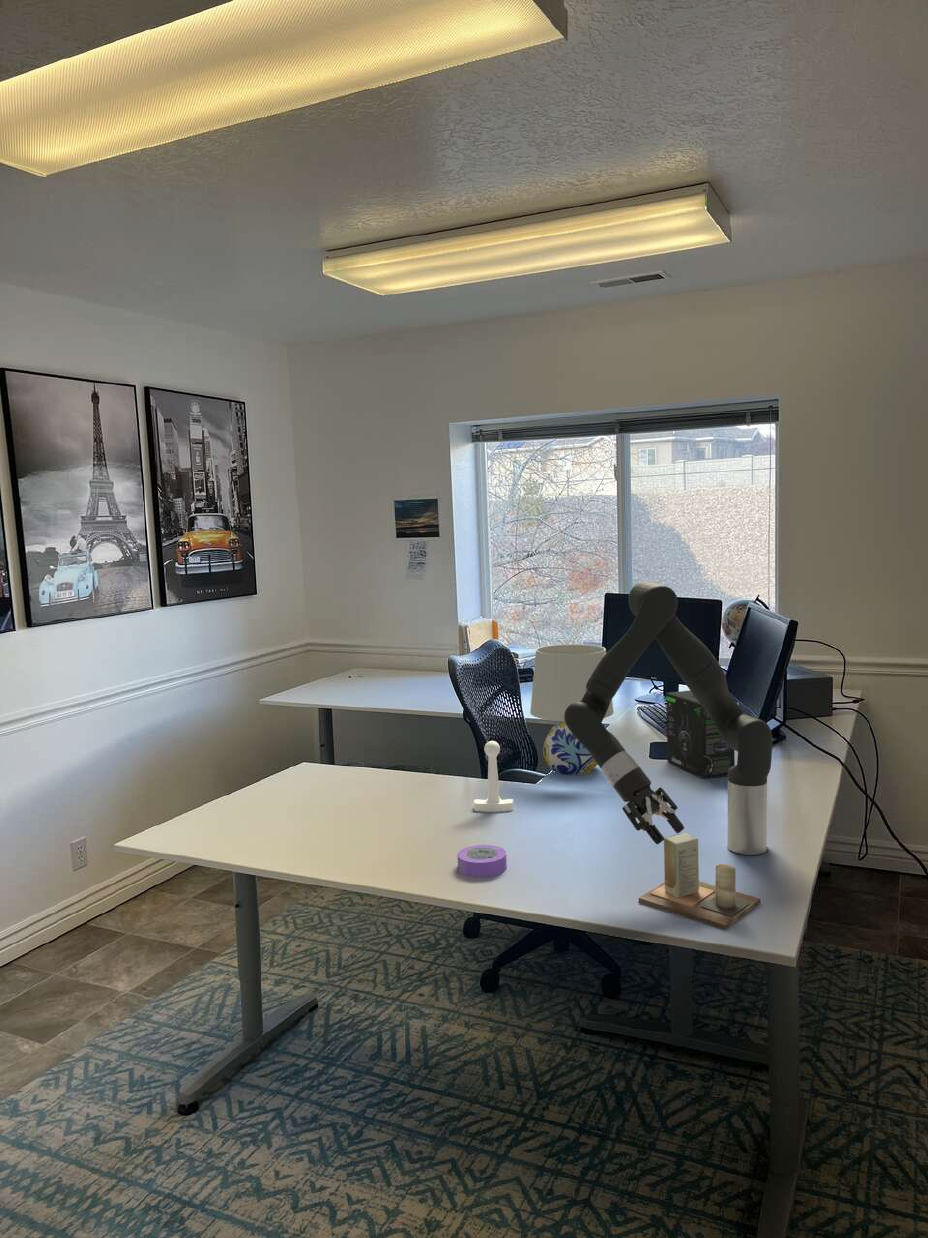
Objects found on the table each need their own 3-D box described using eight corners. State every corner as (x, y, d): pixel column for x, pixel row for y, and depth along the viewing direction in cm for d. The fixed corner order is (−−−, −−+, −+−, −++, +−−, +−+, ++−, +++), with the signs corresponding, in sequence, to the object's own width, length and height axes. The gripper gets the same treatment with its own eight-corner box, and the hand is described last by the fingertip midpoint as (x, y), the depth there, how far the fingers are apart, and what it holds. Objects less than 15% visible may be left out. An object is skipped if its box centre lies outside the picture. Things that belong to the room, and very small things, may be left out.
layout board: (676, 879, 202) (676, 839, 201) (760, 903, 188) (761, 861, 187) (638, 902, 190) (638, 860, 189) (725, 930, 177) (725, 885, 175)
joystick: (474, 812, 252) (472, 743, 250) (475, 803, 260) (473, 736, 257) (513, 811, 251) (511, 742, 249) (513, 803, 259) (511, 736, 257)
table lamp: (612, 782, 275) (611, 655, 271) (526, 780, 281) (523, 655, 276) (615, 759, 302) (614, 643, 297) (536, 757, 307) (534, 643, 303)
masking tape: (447, 869, 212) (447, 854, 211) (481, 855, 220) (481, 840, 220) (482, 882, 204) (482, 866, 203) (516, 867, 212) (516, 852, 211)
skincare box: (686, 885, 195) (686, 831, 194) (699, 892, 191) (699, 838, 190) (663, 891, 192) (662, 837, 191) (675, 898, 188) (675, 843, 187)
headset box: (665, 761, 297) (665, 686, 294) (696, 758, 301) (696, 683, 298) (702, 780, 276) (702, 698, 273) (736, 775, 279) (736, 695, 276)
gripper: (617, 773, 191) (665, 836, 185) (652, 759, 202) (698, 818, 195) (597, 793, 196) (643, 855, 189) (632, 778, 206) (677, 836, 199)
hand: (671, 836), depth 192 cm, fingers open, 8 cm apart
